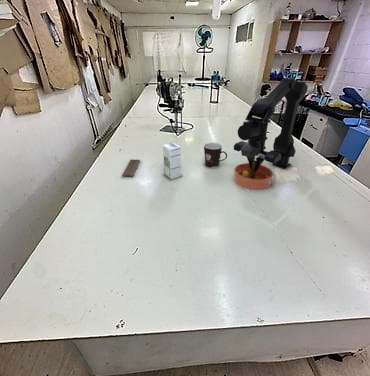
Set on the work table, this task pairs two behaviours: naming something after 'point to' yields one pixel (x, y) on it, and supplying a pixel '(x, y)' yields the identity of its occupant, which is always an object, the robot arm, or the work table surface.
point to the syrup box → (172, 160)
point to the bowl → (261, 177)
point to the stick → (253, 170)
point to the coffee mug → (212, 154)
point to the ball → (245, 174)
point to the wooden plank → (131, 168)
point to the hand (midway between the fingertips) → (253, 169)
